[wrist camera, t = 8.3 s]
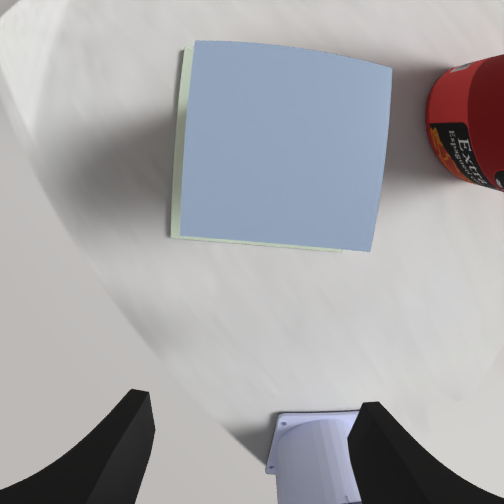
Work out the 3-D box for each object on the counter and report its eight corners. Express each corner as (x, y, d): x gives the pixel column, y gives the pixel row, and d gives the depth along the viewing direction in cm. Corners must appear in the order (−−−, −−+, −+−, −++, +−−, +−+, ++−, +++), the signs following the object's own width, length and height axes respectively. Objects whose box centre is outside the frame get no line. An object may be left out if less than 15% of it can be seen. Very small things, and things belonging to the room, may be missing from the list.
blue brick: (329, 214, 13) (369, 252, 8) (205, 202, 12) (180, 235, 8) (342, 93, 11) (392, 68, 7) (215, 78, 11) (195, 40, 6)
